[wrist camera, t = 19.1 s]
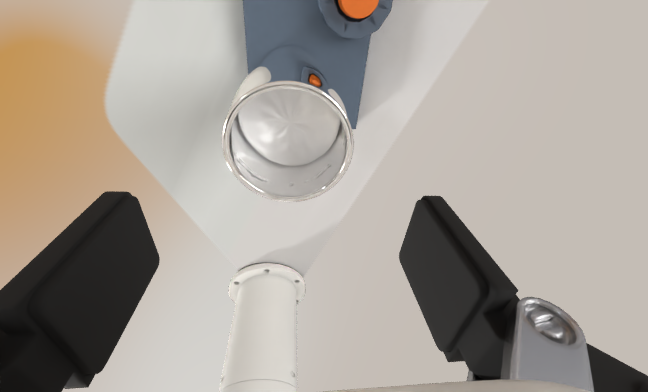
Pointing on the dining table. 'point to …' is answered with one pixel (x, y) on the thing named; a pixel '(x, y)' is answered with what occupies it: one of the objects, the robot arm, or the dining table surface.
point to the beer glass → (288, 129)
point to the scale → (316, 39)
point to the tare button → (358, 7)
